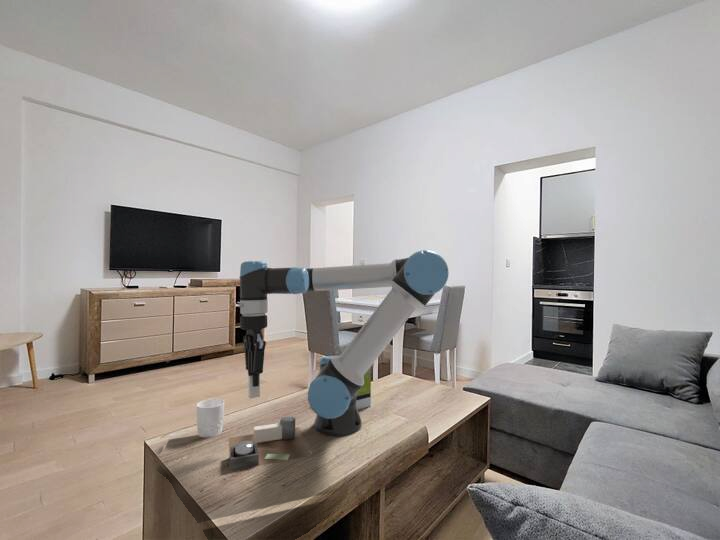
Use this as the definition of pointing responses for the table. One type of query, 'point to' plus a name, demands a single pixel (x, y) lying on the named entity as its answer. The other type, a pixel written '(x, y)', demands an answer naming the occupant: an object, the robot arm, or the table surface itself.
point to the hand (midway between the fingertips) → (254, 396)
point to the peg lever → (275, 430)
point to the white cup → (210, 417)
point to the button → (243, 448)
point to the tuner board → (269, 451)
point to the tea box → (364, 392)
